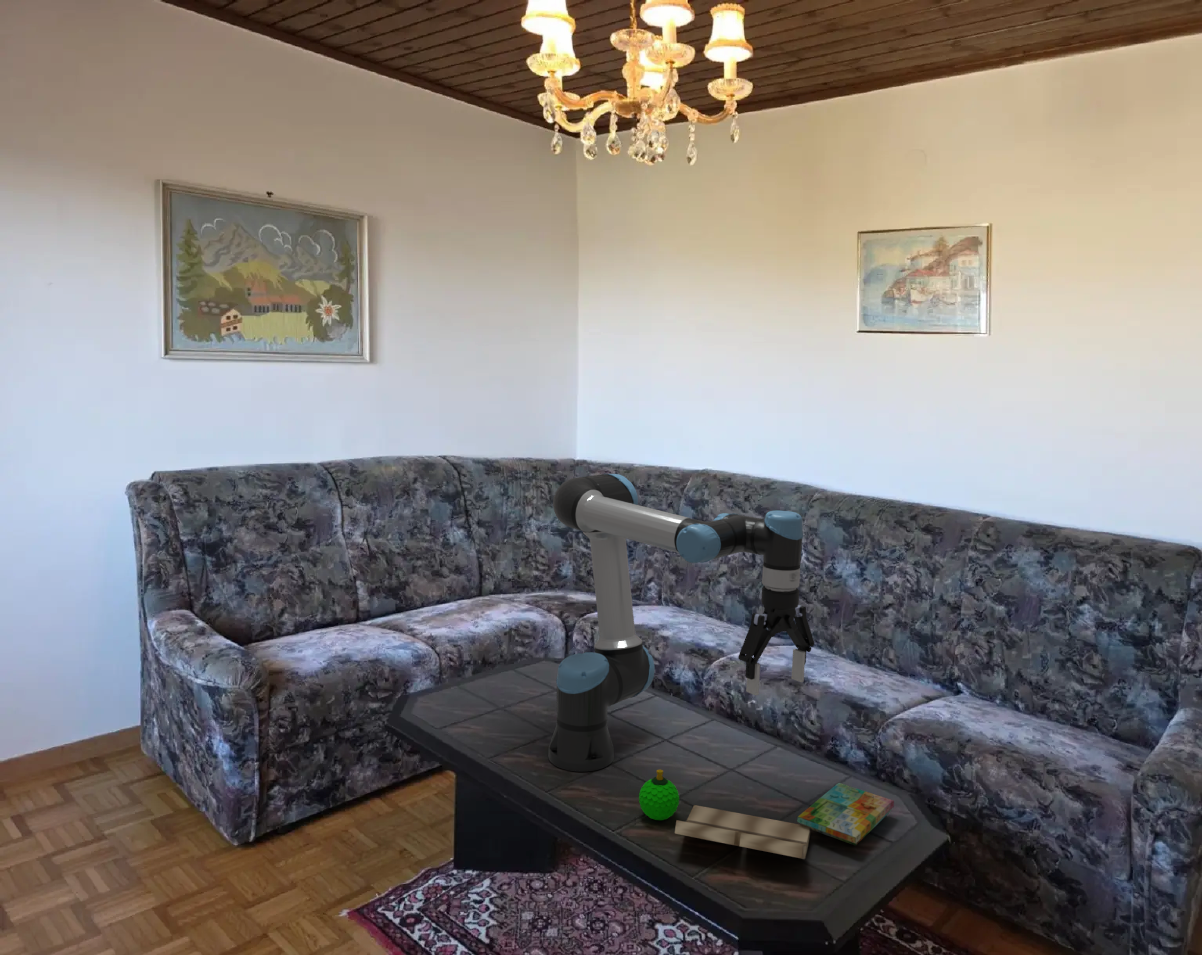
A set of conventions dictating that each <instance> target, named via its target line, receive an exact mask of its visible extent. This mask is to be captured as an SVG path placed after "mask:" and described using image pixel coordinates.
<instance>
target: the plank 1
mask: <svg viewBox="0 0 1202 955" xmlns="http://www.w3.org/2000/svg"><path fill="white" fill-rule="evenodd" d="M674 834H677V835H681V836H684V837H685V836H686V837H691V838H697V839H701V840H706V841H711V842H716V843H721V844H726V845H732V846H737V847H740V846H739V845H740V836H741V833H739V832H735V831H730V830H725V829H720V828H715V827H709V826H704V825H699V824H694V823H689V822H686V821H682V820H677V819H676V822H675V828H674Z"/></svg>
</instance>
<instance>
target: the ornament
mask: <svg viewBox="0 0 1202 955" xmlns="http://www.w3.org/2000/svg"><path fill="white" fill-rule="evenodd" d="M663 775H664V770H663V769H661V768H660V769H657V770H656V776H654V777H652V778H650V779H648V780H647V781H645V782H644V784H643V785H642V786H641V788H640V790H639V793H638V795H639V796H638V802H639V805H640V809H641V810H642V812H643V813H644V814H645V816H648V818H650V819H653V820H655V821H664V820H668V819H669V818H670V817H672V816H674V814H675V813H676V812H677V809H678V807H679V804H680V795H679V791H678V789H677V786H676V785H675V784H674V783H673V782H672V781H671V780H669V779H667V778H666V777H664V776H663Z"/></svg>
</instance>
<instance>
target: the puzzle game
mask: <svg viewBox="0 0 1202 955" xmlns="http://www.w3.org/2000/svg"><path fill="white" fill-rule="evenodd" d="M894 807H895V800H893V799H890V798H887V797H884V796H881V795H878V794H874V793H872V792H869V791H866V790H862V789H859V788H856V787H853V786H851V785H847V784H843V783H841V782H837V783H836V784H835V785H834V786H833V787H831V788H830V789H829V790H828V791H827V792H826V793H824V794H823V795H822V796H821V797H819V798H818V799H817V800H816V801H814V802H813V803H812V804H811V805H809V807H808V808H806V809H805V810H804V811H802V812H801V813H800V814H799V815H798V816H797V817H796V818H797V819H796V822H797V824H800V825H805V826H809V827H810V830H812V831H815V832H816V833H817V832H818V833H820V834H823V835H825V836H828V837H831V838H834V839H836V840H839V841H842V842H845V843H847V844H850V845H852V846H857V845H858V844H859V843H860V842H861V841H862V840H863V839H864V838H865V837H866V836H868V834H869V833H870V832H871V831H872V830H874V829H875V827H876V826H877V825H879V824H880V822H881V821H882V820H884V818H886V817H887V815H888V814H890V813H891V811H892V810H893V809H894Z"/></svg>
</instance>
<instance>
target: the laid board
mask: <svg viewBox="0 0 1202 955" xmlns="http://www.w3.org/2000/svg"><path fill="white" fill-rule="evenodd" d="M685 822H689V823H694V824H699V825H704V826H709V827H715V828H720V829H725V830H730V831H735V832H739V833H746V834H751V835H756V836H761V837H767V838H772V839H777V840H782V841H788V842H793V843H798V844H803V845H805V846H806V853H805V858H807V853H808V847H809V843H810V838H811V828H810V827H809V826H806V825H804V824H800V823H793V822H788V821H783V820H778V819H777V820H776V819H770V818H768V817H767V818H766V817H762V816H755V815H750V814H744V813H739V812H735V811H729V810H723V809H719V808H712V807H708V806H701V805H695V804H694V805H693V806H692V808H691V810H690V813H689V815H688V817H687V819H686V820H685Z"/></svg>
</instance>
